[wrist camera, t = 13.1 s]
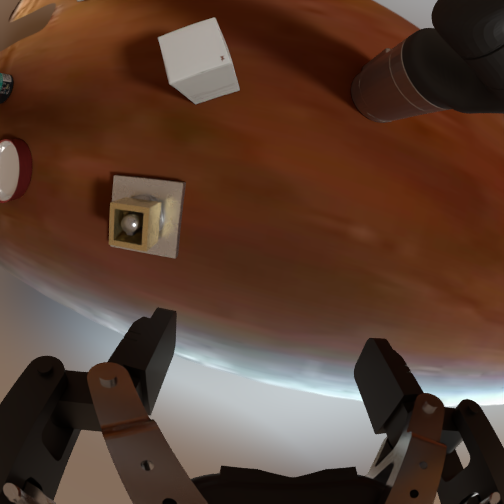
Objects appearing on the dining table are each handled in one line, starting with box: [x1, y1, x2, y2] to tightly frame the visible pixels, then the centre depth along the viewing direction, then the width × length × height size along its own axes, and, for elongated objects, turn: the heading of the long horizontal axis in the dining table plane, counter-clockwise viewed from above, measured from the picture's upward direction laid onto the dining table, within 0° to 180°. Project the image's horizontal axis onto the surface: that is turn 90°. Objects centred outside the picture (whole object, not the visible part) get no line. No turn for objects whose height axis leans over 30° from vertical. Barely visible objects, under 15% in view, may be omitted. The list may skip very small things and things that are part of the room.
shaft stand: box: [111, 175, 186, 258], centre depth 39 cm, size 12×12×7 cm
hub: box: [109, 197, 162, 252], centre depth 38 cm, size 6×6×5 cm
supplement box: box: [158, 17, 240, 104], centre depth 30 cm, size 7×7×13 cm
